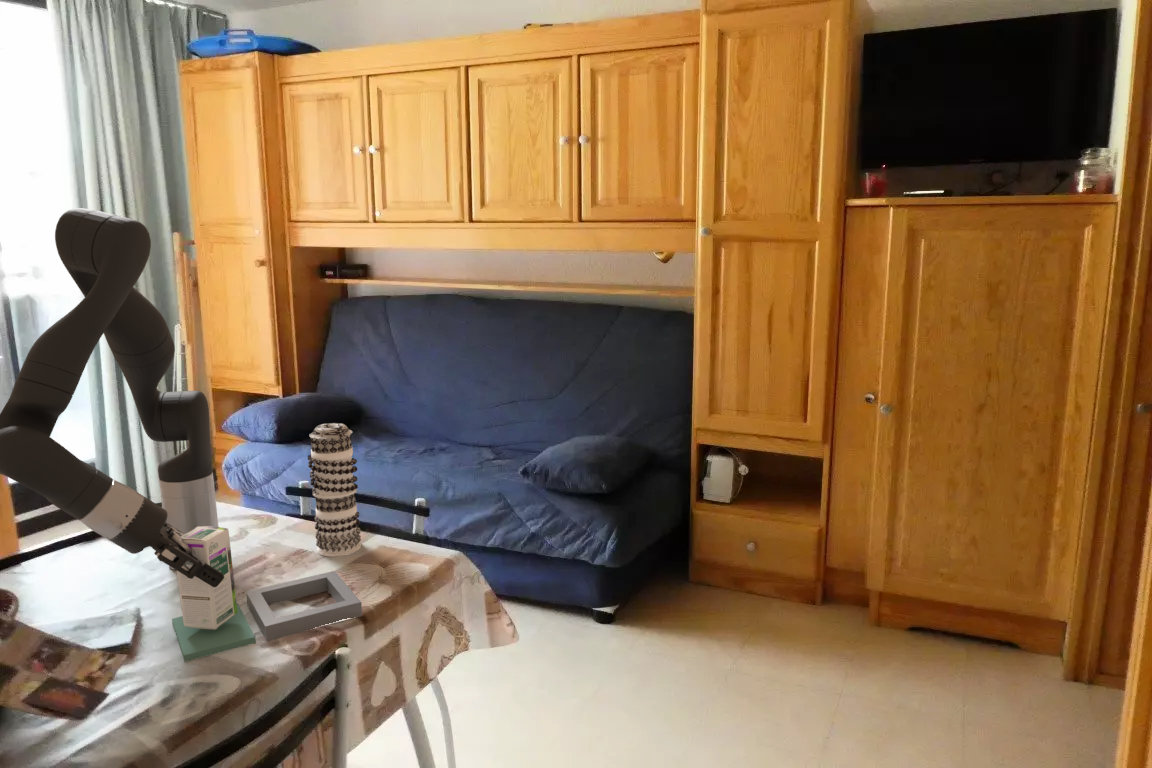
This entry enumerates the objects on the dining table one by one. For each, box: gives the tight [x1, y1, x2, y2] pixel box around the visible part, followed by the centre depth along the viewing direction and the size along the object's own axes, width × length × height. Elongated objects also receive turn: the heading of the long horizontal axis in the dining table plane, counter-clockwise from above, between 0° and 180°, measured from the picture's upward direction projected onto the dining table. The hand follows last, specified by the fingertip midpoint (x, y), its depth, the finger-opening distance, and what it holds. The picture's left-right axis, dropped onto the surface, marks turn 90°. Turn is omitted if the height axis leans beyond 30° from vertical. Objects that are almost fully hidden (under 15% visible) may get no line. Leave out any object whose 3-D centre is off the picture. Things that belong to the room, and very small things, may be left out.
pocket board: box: [245, 570, 363, 642], centre depth 137 cm, size 15×15×2 cm
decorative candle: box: [307, 422, 362, 557], centre depth 162 cm, size 9×9×25 cm
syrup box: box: [176, 526, 238, 630], centre depth 128 cm, size 6×6×14 cm
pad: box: [171, 602, 256, 662], centre depth 130 cm, size 14×10×1 cm
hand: (215, 572), depth 129 cm, fingers closed on syrup box, 8 cm apart
